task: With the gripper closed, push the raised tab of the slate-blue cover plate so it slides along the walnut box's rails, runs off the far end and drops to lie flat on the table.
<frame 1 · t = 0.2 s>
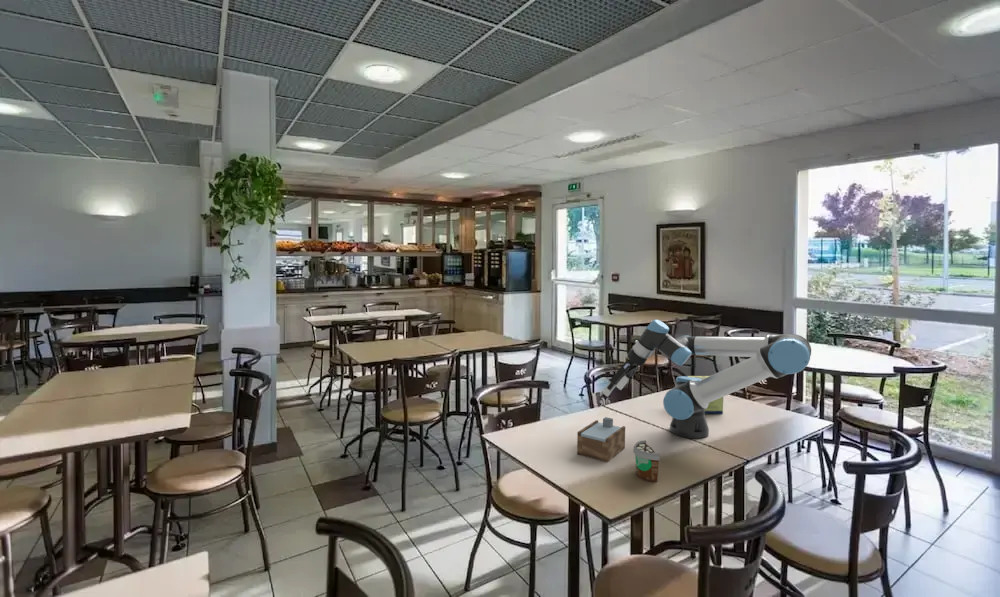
hand: (612, 391, 208), 16 cm above the table, tool tilted 35°, fingers open, 13 cm apart
protein box: (702, 410, 232), on the table
food container: (642, 476, 164), on the table
cover plate: (601, 433, 184), point 7 cm above the table, touching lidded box
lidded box: (601, 451, 185), on the table
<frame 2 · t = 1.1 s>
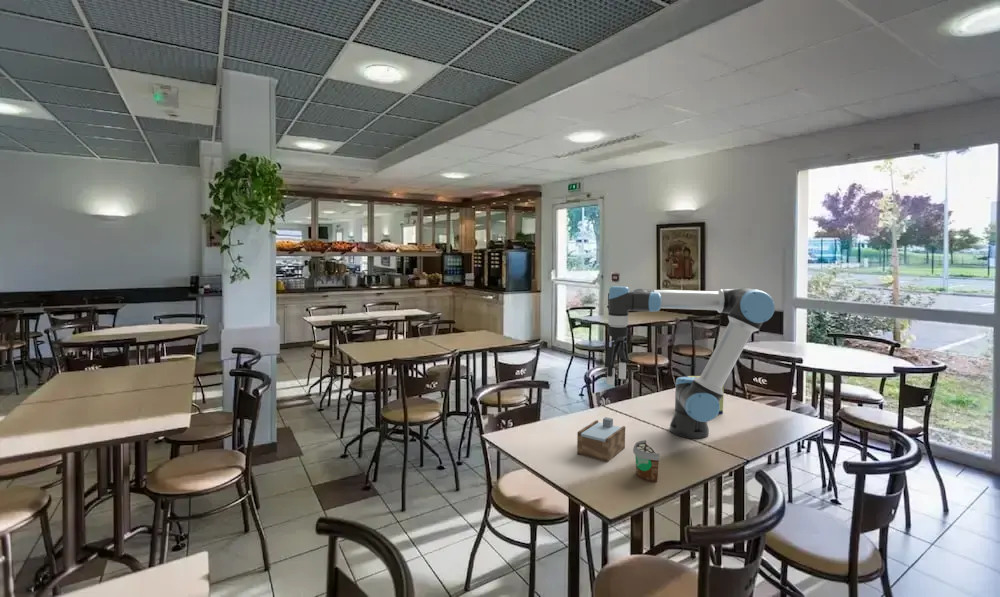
hand: (616, 381, 193), 24 cm above the table, tool pointing down, fingers open, 10 cm apart
nothing on the table moved.
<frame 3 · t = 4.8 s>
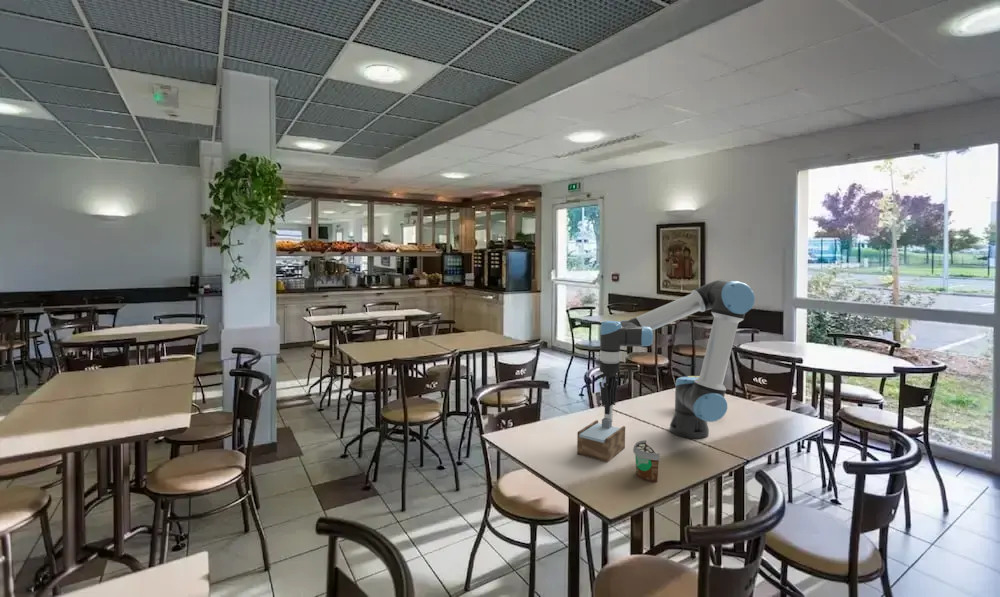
hand: (608, 421, 189), 10 cm above the table, tool pointing down, fingers closed
cover plate: (600, 433, 183), point 7 cm above the table
everything else where it was.
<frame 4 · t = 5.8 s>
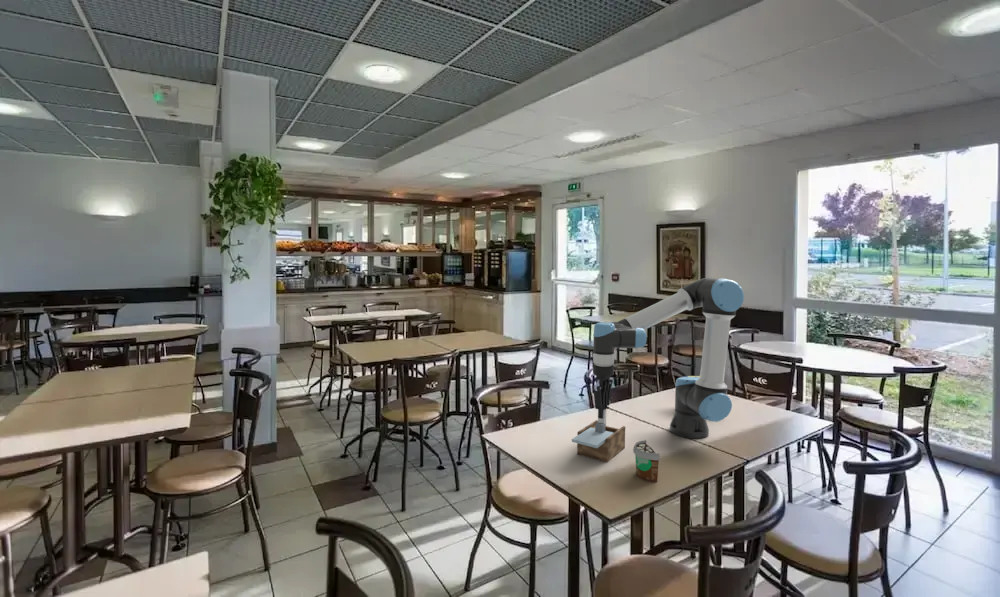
hand: (601, 425, 184), 10 cm above the table, tool pointing down, fingers closed
cover plate: (593, 438, 178), point 7 cm above the table, touching gripper
everything else where it was.
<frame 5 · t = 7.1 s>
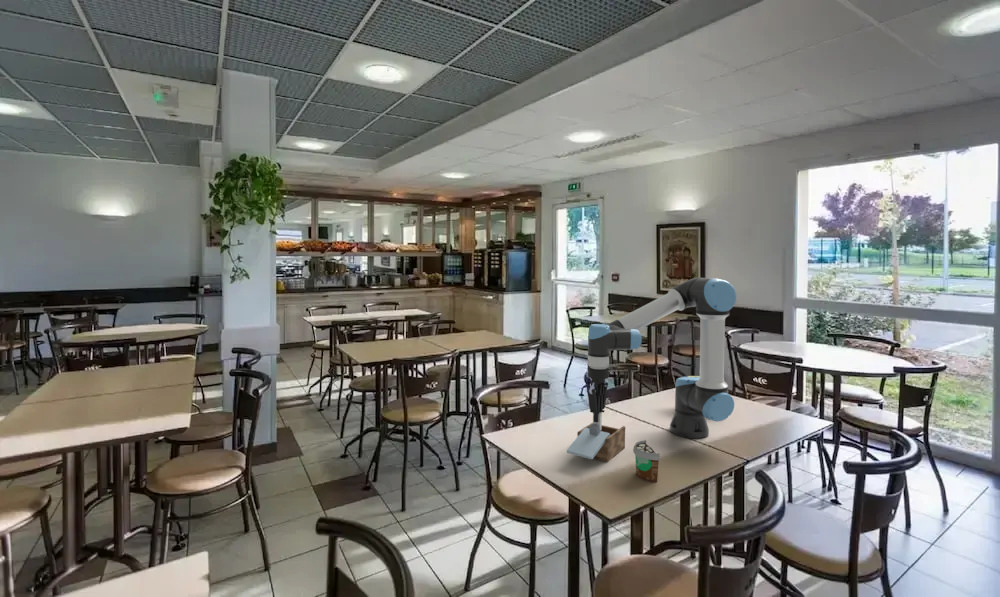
hand: (597, 429, 181), 9 cm above the table, tool pointing down, fingers closed
cover plate: (588, 444, 175), point 6 cm above the table, tilted 16°, touching gripper, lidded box
everything else where it was.
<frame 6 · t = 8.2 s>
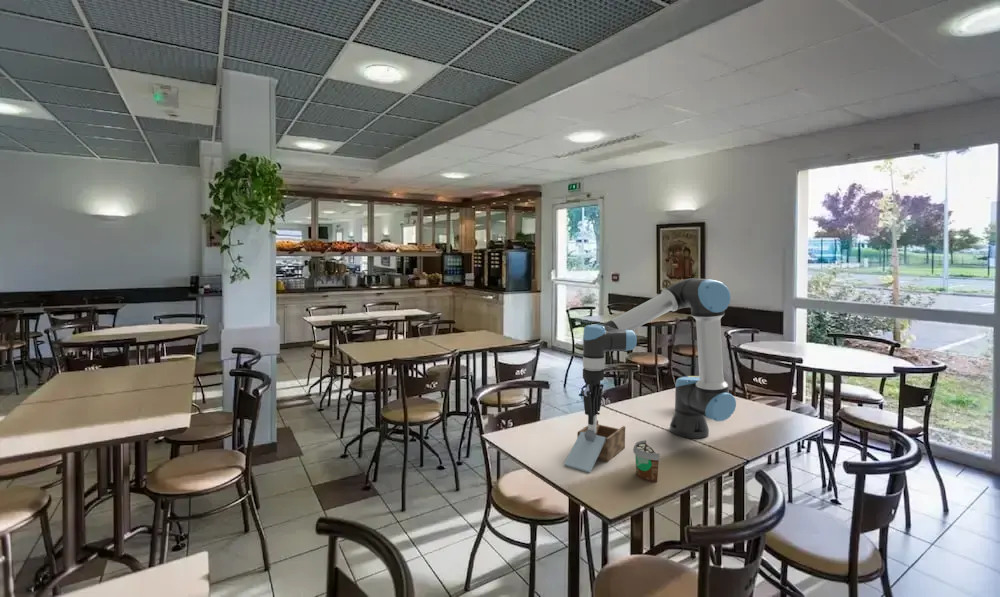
hand: (592, 432, 178), 10 cm above the table, tool pointing down, fingers closed
cover plate: (585, 452, 174), point 4 cm above the table, tilted 32°
everything else where it was.
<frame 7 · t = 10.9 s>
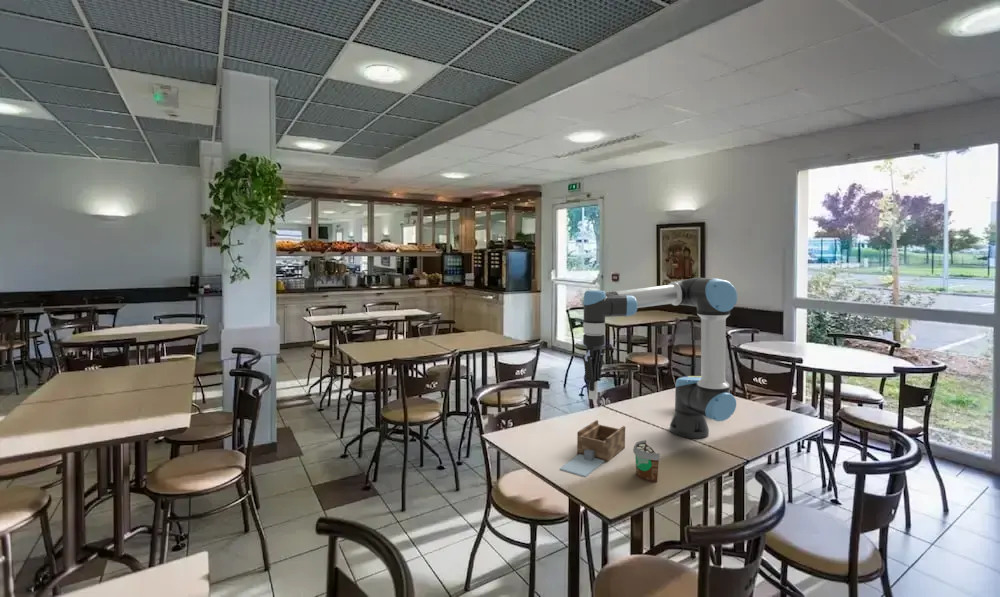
hand: (593, 398, 176), 22 cm above the table, tool pointing down, fingers closed
cover plate: (582, 467, 172), on the table
everything else where it was.
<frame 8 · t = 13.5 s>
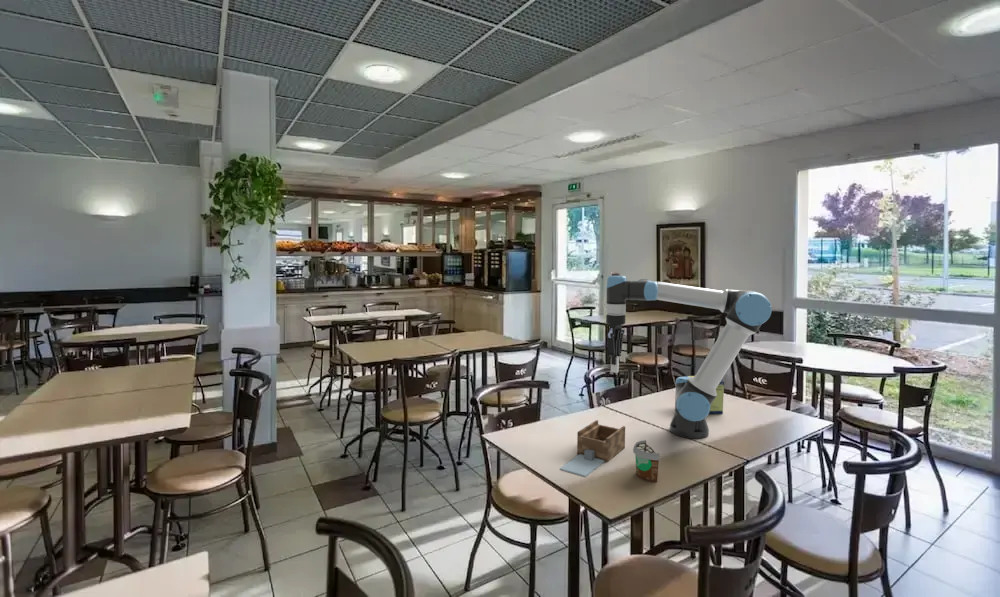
hand: (614, 371, 198), 26 cm above the table, tool pointing down, fingers closed
nothing on the table moved.
at the end: cover plate inside the target area (5.5 cm from its centre), on the table; cover plate on the table; cover plate touching table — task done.
